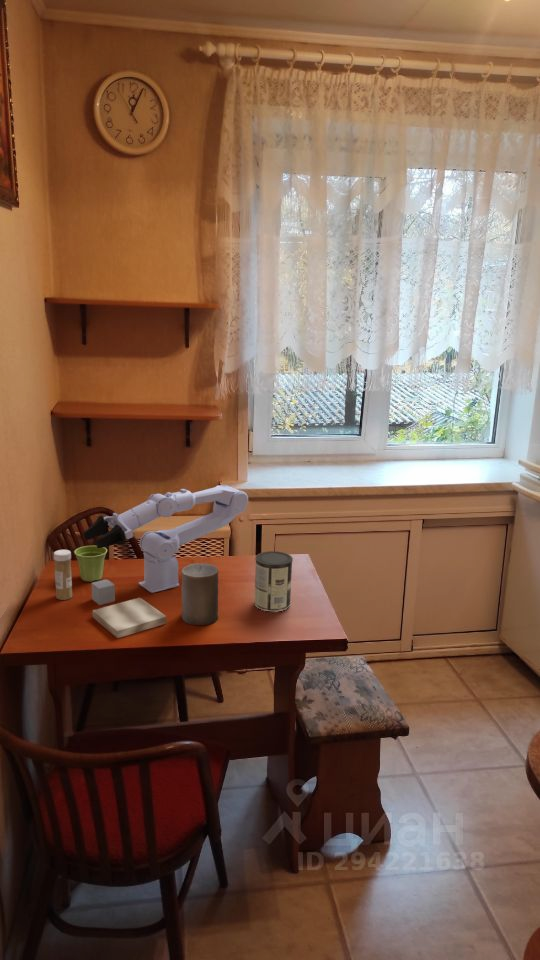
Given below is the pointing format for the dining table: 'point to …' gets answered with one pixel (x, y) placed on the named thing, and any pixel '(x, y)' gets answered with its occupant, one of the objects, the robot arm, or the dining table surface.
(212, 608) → the pillar candle
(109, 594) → the grey block
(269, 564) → the coffee can
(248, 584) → the dining table surface
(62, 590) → the sprinkles bottle
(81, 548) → the plant pot
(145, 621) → the birch base
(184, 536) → the robot arm
